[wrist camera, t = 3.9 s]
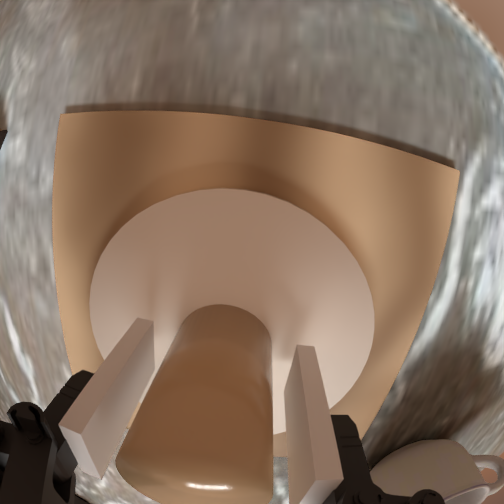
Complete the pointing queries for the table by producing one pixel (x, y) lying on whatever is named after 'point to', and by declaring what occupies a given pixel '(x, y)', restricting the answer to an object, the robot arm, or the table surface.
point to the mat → (261, 180)
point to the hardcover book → (2, 136)
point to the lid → (226, 334)
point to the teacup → (438, 472)
